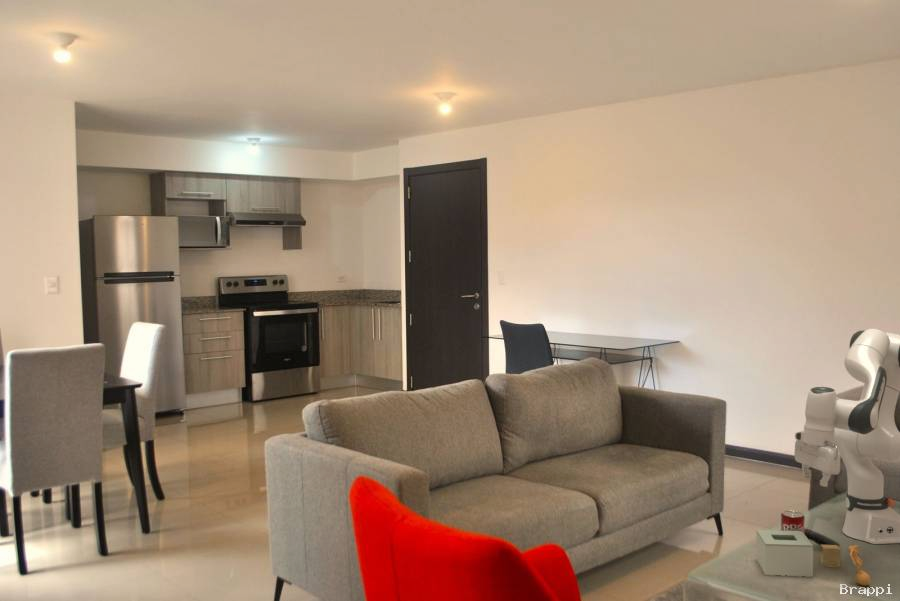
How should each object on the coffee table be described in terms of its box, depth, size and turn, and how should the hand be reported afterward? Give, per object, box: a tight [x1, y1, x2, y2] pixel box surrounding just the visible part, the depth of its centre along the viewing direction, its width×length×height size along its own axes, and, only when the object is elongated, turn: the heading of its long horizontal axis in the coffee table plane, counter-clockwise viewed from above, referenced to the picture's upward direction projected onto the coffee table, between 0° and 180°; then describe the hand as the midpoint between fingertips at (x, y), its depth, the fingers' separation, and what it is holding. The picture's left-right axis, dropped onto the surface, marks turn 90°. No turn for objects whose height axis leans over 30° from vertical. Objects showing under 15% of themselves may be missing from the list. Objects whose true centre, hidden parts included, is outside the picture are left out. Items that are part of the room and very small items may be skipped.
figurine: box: [847, 544, 871, 587], centre depth 238 cm, size 8×6×12 cm
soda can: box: [780, 509, 805, 534], centre depth 266 cm, size 7×7×12 cm
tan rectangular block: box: [819, 544, 841, 568], centre depth 252 cm, size 5×3×6 cm, turn 81°
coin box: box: [756, 529, 814, 578], centre depth 251 cm, size 14×12×10 cm
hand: (815, 482), depth 249 cm, fingers open, 8 cm apart
